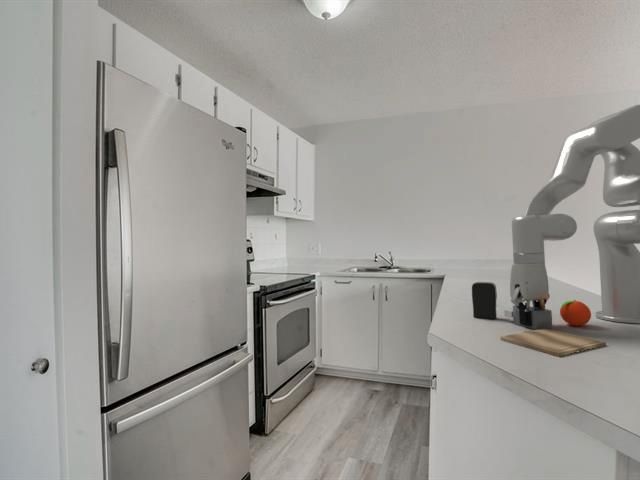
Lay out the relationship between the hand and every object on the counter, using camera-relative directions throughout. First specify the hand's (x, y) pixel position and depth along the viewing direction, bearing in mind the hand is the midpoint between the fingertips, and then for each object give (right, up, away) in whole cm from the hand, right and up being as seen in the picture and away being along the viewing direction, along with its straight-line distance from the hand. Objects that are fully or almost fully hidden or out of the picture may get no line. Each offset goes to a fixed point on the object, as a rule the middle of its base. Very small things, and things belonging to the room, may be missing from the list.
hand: (532, 323), depth 94 cm
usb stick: (0, -1, +1) cm, 1 cm away
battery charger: (-7, -1, +12) cm, 14 cm away
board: (-5, -1, -15) cm, 16 cm away
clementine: (+11, -1, -1) cm, 11 cm away
